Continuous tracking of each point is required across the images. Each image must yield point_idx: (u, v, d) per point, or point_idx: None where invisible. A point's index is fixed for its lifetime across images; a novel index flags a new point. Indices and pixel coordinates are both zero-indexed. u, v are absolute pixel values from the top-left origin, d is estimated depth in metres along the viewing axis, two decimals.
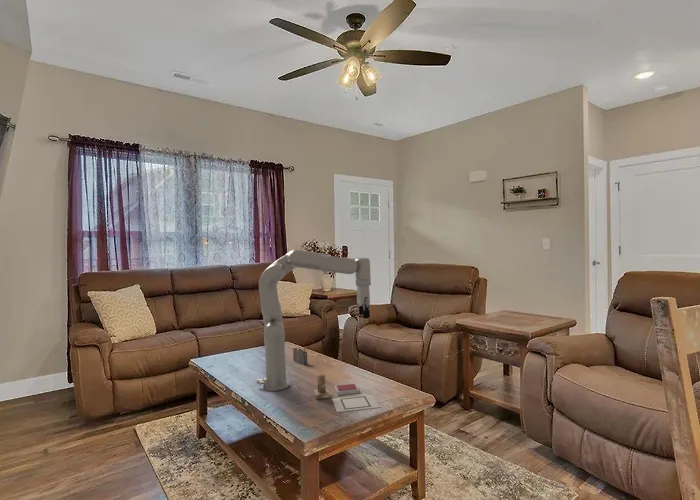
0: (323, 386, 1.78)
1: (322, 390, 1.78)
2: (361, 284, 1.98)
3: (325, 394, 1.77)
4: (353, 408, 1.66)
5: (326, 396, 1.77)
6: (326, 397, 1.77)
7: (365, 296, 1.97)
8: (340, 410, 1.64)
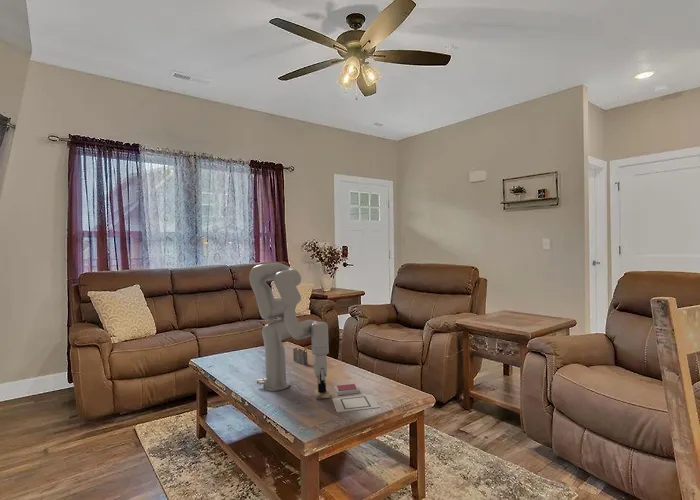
0: None
1: None
2: (317, 353, 1.76)
3: (325, 394, 1.77)
4: (353, 408, 1.66)
5: (326, 396, 1.77)
6: (326, 397, 1.77)
7: (321, 367, 1.75)
8: (340, 410, 1.64)
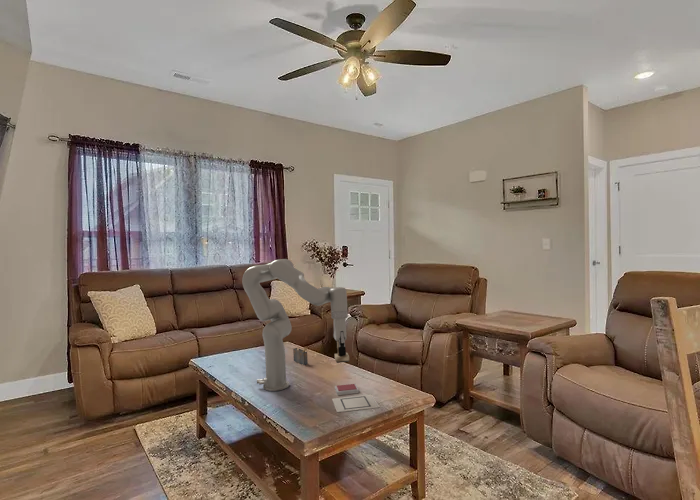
0: None
1: None
2: (336, 317, 1.80)
3: (345, 357, 1.81)
4: (353, 408, 1.66)
5: (346, 359, 1.82)
6: (346, 360, 1.82)
7: (341, 330, 1.79)
8: (340, 410, 1.64)
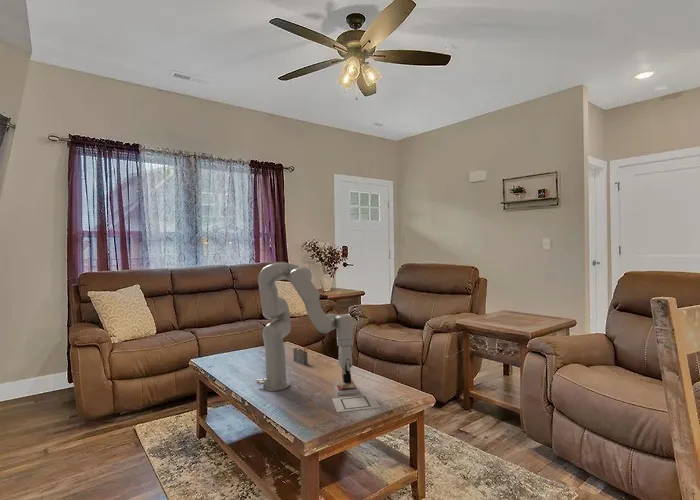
0: None
1: None
2: (342, 344, 1.82)
3: (350, 384, 1.83)
4: (353, 408, 1.66)
5: (351, 386, 1.83)
6: (351, 387, 1.83)
7: (347, 358, 1.81)
8: (340, 410, 1.64)
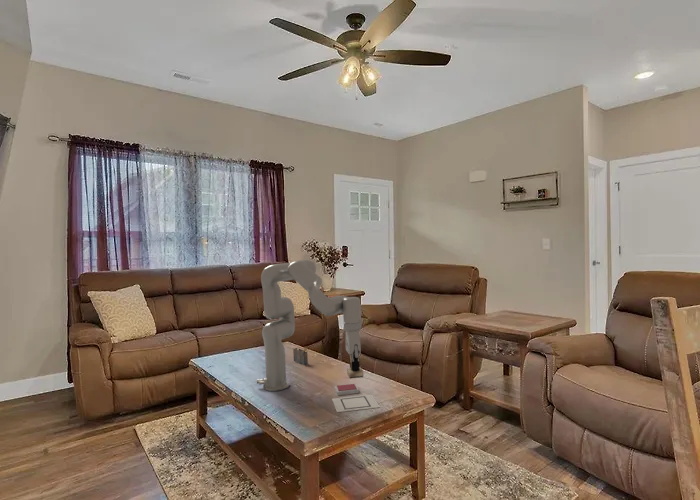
0: None
1: None
2: (350, 329, 1.67)
3: (359, 372, 1.68)
4: (353, 408, 1.66)
5: (360, 374, 1.68)
6: (360, 375, 1.68)
7: (355, 343, 1.66)
8: (340, 410, 1.64)
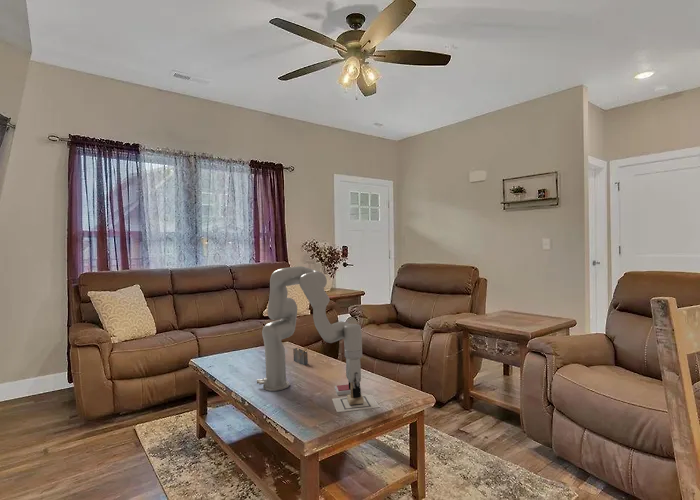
0: None
1: None
2: (351, 357, 1.67)
3: (359, 400, 1.69)
4: (353, 408, 1.66)
5: (360, 402, 1.69)
6: (360, 403, 1.69)
7: (355, 371, 1.66)
8: (340, 410, 1.64)
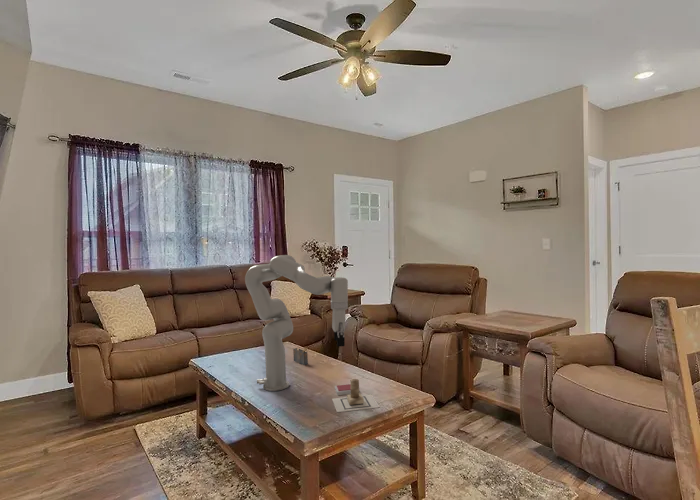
0: (357, 391, 1.70)
1: (356, 395, 1.70)
2: (336, 308, 1.76)
3: (359, 400, 1.69)
4: (353, 408, 1.66)
5: (360, 402, 1.69)
6: (360, 403, 1.69)
7: (340, 321, 1.74)
8: (340, 410, 1.64)
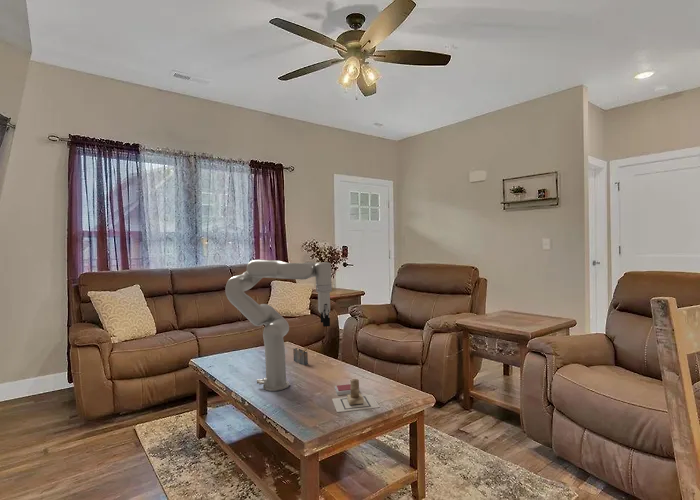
0: (357, 391, 1.70)
1: (356, 395, 1.70)
2: (321, 290, 1.87)
3: (359, 400, 1.69)
4: (353, 408, 1.66)
5: (360, 402, 1.69)
6: (360, 403, 1.69)
7: (325, 303, 1.85)
8: (340, 410, 1.64)
